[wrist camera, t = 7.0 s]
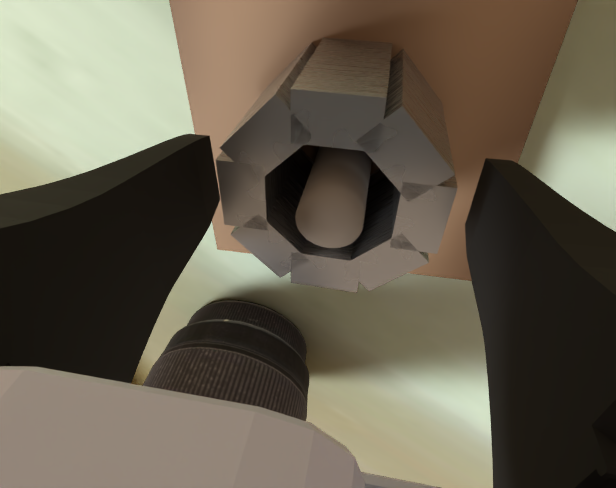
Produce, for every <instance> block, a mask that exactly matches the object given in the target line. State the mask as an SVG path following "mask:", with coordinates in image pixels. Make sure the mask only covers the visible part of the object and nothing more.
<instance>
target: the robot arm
mask: <svg viewBox="0 0 616 488" xmlns="http://www.w3.org/2000/svg"><path fill="white" fill-rule="evenodd" d="M219 201H220V194H219V188H218V182H217V176H216V170H215V164H214V158H213V153H212V147H211V141H210V136H208V135H196V134H186V135H182V136H178V137H175V138H173V139H170V140H167V141H165V142H162V143H160V144H157V145H155V146H152V147H150V148H147V149H145V150H143V151H140V152H138V153H135V154H133V155H130V156H128V157H126V158H123V159H120V160H118V161H115V162H112V163H110V164H107V165H104V166H102V167H99V168H96V169H94V170H91V171H88V172H85V173H82V174H79V175H76V176H73V177H70V178H66V179H63V180H59V181H56V182H52V183H49V184H45V185H41V186H37V187H33V188H28V189H24V190H19V191H14V192H10V193H5V194H1V195H0V488H440V487H435V486H430V485H425V484H420V483H415V482H410V481H405V480H400V479H394V478H389V477H384V476H379V475H374V474H369V473H364V472H361V471H360V469H359V466H358V464H357V462H356V459H355V457H354V456H353V455H352V453H351V452H350V451H349V450H348V448H347V447H346V446H344V445H343V444H341V443H340V442H338V441H337V440H335V439H334V438H332V437H331V436H329V435H328V434H326V433H325V432H323V431H322V430H321V429H319V428H318V427H316V426H315V425H313V424H312V423H310V422H306V421H303V420H300V419H297V418H294V417H290V416H287V415H284V414H281V413H278V412H275V411H271V410H268V409H265V408H262V407H258V406H252V405H247V404H241V403H236V402H230V401H225V400H219V399H214V398H208V397H202V396H197V395H191V394H186V393H180V392H175V391H169V390H164V389H158V388H153V387H147V386H141V385H136V384H131V382H132V380H133V377H134V374H135V372H136V369H137V366H138V364H139V361H140V359H141V356H142V354H143V351H144V349H145V346H146V344H147V342H148V339H149V337H150V334H151V332H152V330H153V327H154V325H155V323H156V321H157V318H158V316H159V314H160V312H161V310H162V308H163V305H164V303H165V301H166V299H167V297H168V295H169V293H170V291H171V289H172V288H173V286H174V284H175V282H176V281H177V279H178V277H179V276H180V274H181V273H182V271H183V269H184V268H185V266H186V264H187V263H188V261H189V259H190V258H191V256H192V255H193V253H194V251H195V250H196V248H197V246H198V245H199V243H200V241H201V240H202V238H203V236H204V235H205V233H206V231H207V230H208V228H209V226H210V224H211V221H212V219H213V217H214V214H215V212H216V209H217V206H218V204H219ZM465 238H466V254H467V260H468V265H469V270H470V275H471V280H472V284H473V289H474V293H475V298H476V302H477V307H478V311H479V316H480V320H481V325H482V330H483V336H484V342H485V353H486V363H487V374H488V387H489V401H490V415H491V436H492V457H493V488H616V232H615V231H613V230H611V229H610V228H608V227H606V226H605V225H603V224H602V223H600V222H599V221H597V220H596V219H594V218H593V217H591V216H590V215H588V214H586V213H585V212H583V211H582V210H580V209H579V208H578V207H576V206H575V205H573V204H572V203H570V202H569V201H568V200H566V199H565V198H564V197H562V196H561V195H559V194H558V193H557V192H555V191H554V190H553V189H551V188H550V187H549V186H547V185H546V184H545V183H544V182H542V181H541V180H540V179H538V178H537V177H536V176H534V175H533V174H532V173H530V172H529V171H528V170H526V169H525V168H523V167H522V166H521V165H519V164H517V163H516V162H514V161H512V160H501V159H489V158H486V159H485V162H484V165H483V168H482V171H481V175H480V178H479V181H478V184H477V188H476V191H475V194H474V197H473V200H472V204H471V207H470V210H469V213H468V216H467V220H466V223H465Z"/></svg>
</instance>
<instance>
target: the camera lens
mask: <svg viewBox="0 0 616 488" xmlns="http://www.w3.org/2000/svg"><path fill="white" fill-rule="evenodd" d="M305 359H306V344H305V341H304V339H303V337H302V334H301V333H300V332H299V330H298V329H297V328H296V327H295V326H294V325H293V324H292V323H291V322H290V321H289V320H287V319H286V318H285V317H283V316H282V315H280V314H278V313H277V312H275V311H273V310H271V309H268V308H266V307H264V306H260V305H257V304H254V303H249V302H243V301H220V302H214V303H211V304H209V305H206V306H204V307H202V308H201V309H199V310H198V311H197V312H196V313H195V314H194V315H193V316H192V317H191V319H190V321H189V323H188V325H187V326H185V327H184V328H182V329H181V330H179V331H178V332H177V333H176V334H175V335H174V336H173V337H172V339H171V340H170V342H169V344H168V345H167V347H166V349H165V350H164V352H163V353H162V354H161V356H160V357H159V359H158V360H157V361H156V363H155V364H154V365H153V367H152V369H151V371H150V372H149V374H148V376H147V378H146V380H145V382H144V384H143V386H147V387H153V388H158V389H164V390H169V391H175V392H180V393H186V394H191V395H197V396H202V397H208V398H214V399H219V400H225V401H230V402H236V403H241V404H247V405H252V406H258V407H262V408H265V409H268V410H271V411H275V412H278V413H281V414H284V415H287V416H290V417H294V418H297V419H300V420H303V421H306V417H307V394H308V387H309V372H308V369H307V366H306V365H305Z"/></svg>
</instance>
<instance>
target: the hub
mask: <svg viewBox="0 0 616 488" xmlns="http://www.w3.org/2000/svg"><path fill="white" fill-rule="evenodd" d="M391 51H392V43H390V42H377V41H364V40H350V39H337V38H324V37H323V39H322V41H321V42H320V44H319V45H318V47H316V46H315V45H314V44H313V42H311V43H310V44H309V45H308V46H307V47H306V48H305V49H304V50H303V51H302V52H301V53H300V54H299V55H298V56H297V57H296V58H295V59H294V60H293V61H292V62H291V63H290V64H289V65H288V66H287V67H286V68H285V69H284V70H283V71H282V72H281V73H280V74H279V75H278V76H277V77H276V78H275V79H274V80H273V81H272V82H271V83H270V84H269V85H268V86H267V87H266V89H265V90H264V91H263V93H262V94H261V95H260V96H259V98H258V99H257V100H256V102H255V103H254V104H253V105H252V107H251V108H250V109H249V111H248V112H247V113H246V114H245V116H244V117H243V118H242V120H241V121H240V122H239V123H238V125H237V126H236V127H235V129H234V130H233V131H232V132H231V134H230V135H229V136H228V138H227V139H226V140H225V141H224V143H223V144H222V145H221V147H220V149H221V150H222V152H221V153H220V155H219V156H218V157H217V159H216V166H217V174H218V181H219V188H220V196H221V203H222V210H223V218H224V225H231V226H235V227H234V229H233V231H232V233H231V236H233V237H234V238H235V239H236V240H237V241H238V242H239V243H241V244H242V245H243V246H244V247H245V248H246V249H248V250H249V251H250V252H251V253H252V254H253V255H254V256H256V257H257V258H258V259H259V260H260V261H261V262H263V263H264V264H265V265H266V266H267V267H268V268H270V269H271V270H272V271H273V272H274V273H275V274H276V275H278V276H279V277H282V276H284V275H285V274H287V273H289V272H291V283H297V284H304V285H310V286H317V287H323V288H330V289H336V290H343V291H349V292H356V293H357V289H358V283H359V282H360V283H361V284H362V285H363V286H364V287H365V288H366V289H367V290H368V291H370V290H373V289H375V288H377V287H379V286H381V285H383V284H385V283H387V282H389V281H391V280H394V279H396V278H398V277H400V276H402V275H404V274H406V273H408V272H410V271H412V270H415V269H417V268H419V267H421V266H423V265H425V264H427V263H429V257H428V253H434V254H437V253H438V250H439V246H440V243H441V240H442V237H443V234H444V230H445V227H446V224H447V221H448V218H449V214H450V211H451V208H452V205H453V202H454V198H455V195H456V192H457V189H458V188H457V182H456V177H455V171H454V165H453V160H452V154H451V149H450V144H449V138H448V133H447V127H446V122H445V117H444V111H443V106H442V102H441V100H440V99H439V98H438V96H437V95H436V93H435V92H434V91H433V89H432V88H431V86H430V85H429V84H428V82H427V81H426V80H425V78H424V77H423V75H422V74H421V73H420V71H419V70H418V68H417V67H416V66H415V64H414V63H413V61H412V60H411V59H410V57H409V56H408V55H407V53H406V52H405V50H404V49H402V50H401V51H400V52H399V53H398V54H397V55H395V56H394V57H393V58H392V59H391ZM304 144H305V145H314V146H323V147H332V148H342V149H351V150H360V151H365V152H366V153H367V154H368V156H369V157H370V158H371V159H372V160H373V161H374V163H375V164H376V165H377V166H378V167H379V169H378V170H376V171H375V172H373V173H372V174H370V179H369V186H368V194H367V201H366V208H365V216H364V223H363V229H362V232H361V234H360V236H359V237H358V238H357V239H356V240H355V241H354V242H352V243H351V244H349V245H347V246H344V247H340V248H326V247H321V246H318V245H316V244H314V243H312V242H310V241H309V240H307V239H306V238H305V237H304V236H303V235H302V234H301V233H300V231H299V229H298V227H297V225H296V220H295V215H296V210H297V208H298V205H299V202H300V199H301V197H302V194H303V191H304V188H305V186H306V183H307V180H308V177H309V175H310V172H311V169H312V166H313V164H314V162H313V161H312V160H311V159H310V158H309V157H308V156H307V155H306V154H305V152H304V151H303V150H302V149H301V148H300V147H301V146H303V145H304Z"/></svg>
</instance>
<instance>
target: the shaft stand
mask: <svg viewBox="0 0 616 488" xmlns="http://www.w3.org/2000/svg"><path fill="white" fill-rule="evenodd" d="M577 1H578V0H169V2H170V7H171V12H172V17H173V22H174V27H175V32H176V38H177V43H178V48H179V53H180V58H181V63H182V69H183V74H184V79H185V84H186V89H187V94H188V100H189V105H190V110H191V115H192V120H193V125H194V131H195V134H196V135H208V136H210V141H211V147H212V153H213V158H214V164H215V170H216V176H217V182H218V188H219V181H218V174H217V166H216V159H217V157H218V156H219V155H220V153H221V152H222V150H221V149H220V147H221V145H222V144H223V143H224V141H225V140H226V139H227V138H228V136H229V135H230V134H231V132H232V131H233V130H234V129H235V127H236V126H237V125H238V123H239V122H240V121H241V120H242V118H243V117H244V116H245V114H246V113H247V112H248V111H249V109H250V108H251V107H252V105H253V104H254V103H255V102H256V100H257V99H258V98H259V96H260V95H261V94H262V93H263V91H264V90H265V89H266V87H267V86H268V85H269V84H270V83H271V82H272V81H273V80H274V79H275V78H276V77H277V76H278V75H279V74H280V73H281V72H282V71H283V70H284V69H285V68H286V67H287V66H288V65H289V64H290V63H291V62H292V61H293V60H294V59H295V58H296V57H297V56H298V55H299V54H300V53H301V52H302V51H303V50H304V49H305V48H306V47H307V46H308V45H309V44H310V43H311V42H313V44H314V45H315V46H316V47H318V45H319V44H320V42H321V41H322V39H323V37H324V38H337V39H350V40H364V41H377V42H390V43H392V51H391V59H392V58H393V57H394V56H395V55H397V54H398V53H399V52H400V51H401V50H402V49H404V50H405V52H406V53H407V55H408V56H409V57H410V59H411V60H412V61H413V63H414V64H415V66H416V67H417V68H418V70H419V71H420V73H421V74H422V75H423V77H424V78H425V80H426V81H427V82H428V84H429V85H430V86H431V88H432V89H433V91H434V92H435V93H436V95H437V96H438V98H439V99H440V100H441V102H442V106H443V111H444V117H445V122H446V127H447V133H448V138H449V144H450V149H451V154H452V160H453V165H454V171H455V177H456V182H457V188H458V189H457V192H456V195H455V198H454V202H453V205H452V208H451V211H450V214H449V218H448V221H447V224H446V227H445V230H444V234H443V237H442V240H441V243H440V246H439V250H438V253H437V254H434V253H428V257H429V263H427V264H425V265H423V266H421V267H419V268H417V269H415V270H412V271H410V272H408V273H412V274H420V275H428V276H436V277H444V278H453V279H461V280H469V281H472V280H471V275H470V270H469V265H468V260H467V254H466V238H465V223H466V220H467V216H468V213H469V210H470V207H471V204H472V200H473V197H474V194H475V191H476V188H477V184H478V181H479V178H480V175H481V171H482V168H483V165H484V162H485V159H486V158H489V159H501V160H512V161H514V162H516V163H518V161H519V158H520V155H521V153H522V150H523V147H524V144H525V142H526V139H527V136H528V134H529V131H530V128H531V126H532V123H533V120H534V117H535V115H536V112H537V109H538V107H539V104H540V101H541V99H542V96H543V93H544V91H545V88H546V85H547V82H548V80H549V77H550V74H551V72H552V69H553V66H554V64H555V61H556V58H557V55H558V53H559V50H560V47H561V45H562V42H563V39H564V37H565V34H566V31H567V28H568V26H569V23H570V20H571V18H572V15H573V12H574V10H575V7H576V4H577ZM300 148H301V149H302V150H303V151H304V152H305V154H306V155H307V156H308V157H309V158H310V159H311V160H312V161H313V162H314V164H313V166H312V169H311V172H310V175H309V177H308V180H307V183H306V186H305V188H304V191H303V194H302V197H301V199H300V202H299V205H298V208H297V210H296V215H295V220H296V225H297V227H298V229H299V231H300V233H301V234H302V235H303V236H304V237H305V238H306V239H307V240H309V241H310V242H312V243H314V244H316V245H318V246H321V247H326V248H340V247H344V246H347V245H349V244H351V243H352V242H354V241H355V240H356V239H357V238H358V237H359V236H360V234H361V232H362V229H363V223H364V216H365V208H366V201H367V194H368V186H369V179H370V174H372V173H373V172H375V171H376V170H378V169H379V167H378V166H377V165H376V164H375V163H374V161H373V160H372V159H371V158H370V157H369V156H368V154H367V153H366V152H365V151H360V150H351V149H342V148H332V147H323V146H314V145H305V144H304V145H303V146H301V147H300ZM219 194H220V188H219ZM212 224H213V229H214V234H215V239H216V244H217V249H219V250H227V251H235V252H243V253H251V252H250V251H249V250H248V249H246V248H245V247H244V246H243V245H242V244H241V243H239V242H238V241H237V240H236V239H235V238H234V237H233V236H231V233H232V231H233V229H234V227H235V226H231V225H224V218H223V210H222V203H221V196H220V201H219V204H218V206H217V209H216V212H215V214H214V217H213V219H212ZM251 254H252V253H251Z"/></svg>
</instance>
